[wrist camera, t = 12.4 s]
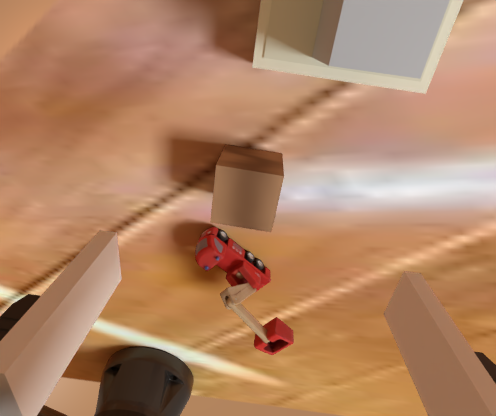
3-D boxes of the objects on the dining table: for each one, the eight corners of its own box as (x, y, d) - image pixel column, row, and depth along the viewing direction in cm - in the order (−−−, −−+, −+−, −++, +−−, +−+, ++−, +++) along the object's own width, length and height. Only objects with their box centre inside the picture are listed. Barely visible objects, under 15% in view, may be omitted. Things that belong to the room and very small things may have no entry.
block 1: (219, 194, 35) (210, 222, 29) (225, 144, 32) (216, 165, 26) (271, 203, 35) (271, 232, 29) (282, 153, 32) (283, 176, 26)
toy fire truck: (212, 220, 36) (194, 276, 28) (290, 283, 40) (295, 348, 32) (195, 236, 38) (173, 294, 29) (272, 296, 42) (272, 361, 33)
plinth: (254, 63, 28) (252, 67, 24) (273, -83, 23) (274, -106, 19) (406, 86, 28) (426, 93, 24) (458, -55, 23) (493, -72, 19)
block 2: (311, 57, 23) (328, 65, 16) (335, -61, 20) (370, -114, 13) (376, 66, 23) (420, 78, 16) (411, -51, 20) (486, -98, 13)
